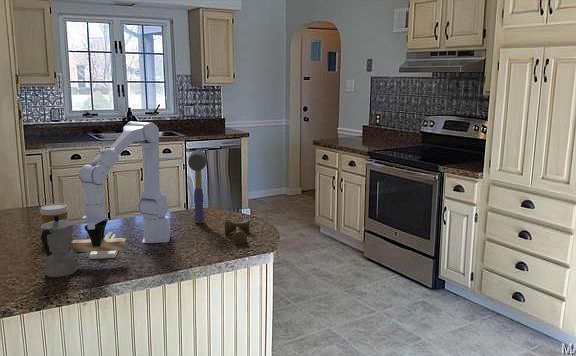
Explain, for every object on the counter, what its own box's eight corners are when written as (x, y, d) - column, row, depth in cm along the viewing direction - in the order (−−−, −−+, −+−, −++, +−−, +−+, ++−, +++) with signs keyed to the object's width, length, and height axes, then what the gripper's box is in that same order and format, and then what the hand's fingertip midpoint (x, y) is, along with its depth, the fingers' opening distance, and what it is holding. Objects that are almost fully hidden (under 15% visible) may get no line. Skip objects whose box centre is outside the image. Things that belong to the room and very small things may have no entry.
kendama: (226, 247, 174) (223, 228, 194) (253, 246, 176) (247, 228, 195) (226, 231, 173) (223, 214, 192) (253, 230, 175) (248, 214, 194)
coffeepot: (56, 263, 156) (51, 209, 152) (85, 263, 155) (81, 209, 152) (30, 283, 140) (24, 223, 137) (62, 283, 140) (57, 223, 137)
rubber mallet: (207, 226, 195) (206, 153, 190) (189, 227, 195) (186, 153, 189) (208, 218, 208) (207, 148, 202) (191, 218, 207) (189, 148, 201)
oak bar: (126, 247, 157) (125, 238, 157) (124, 250, 155) (124, 241, 154) (74, 248, 155) (73, 239, 154) (71, 252, 152) (71, 243, 151)
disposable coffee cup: (55, 232, 186) (52, 202, 184) (76, 235, 183) (73, 204, 181) (36, 240, 177) (33, 208, 175) (58, 243, 174) (55, 210, 172)
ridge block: (123, 241, 176) (122, 231, 176) (115, 257, 161) (114, 246, 160) (100, 242, 175) (99, 232, 174) (89, 258, 160) (88, 247, 159)
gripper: (86, 197, 158) (90, 237, 161) (75, 209, 144) (78, 253, 147) (109, 197, 159) (112, 236, 162) (100, 208, 145) (103, 251, 148)
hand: (98, 244), depth 154 cm, fingers closed on oak bar, 3 cm apart
